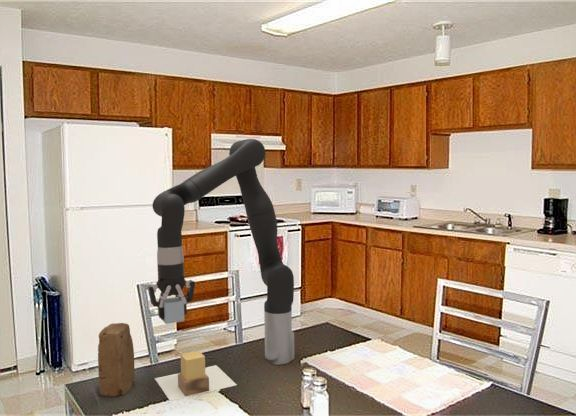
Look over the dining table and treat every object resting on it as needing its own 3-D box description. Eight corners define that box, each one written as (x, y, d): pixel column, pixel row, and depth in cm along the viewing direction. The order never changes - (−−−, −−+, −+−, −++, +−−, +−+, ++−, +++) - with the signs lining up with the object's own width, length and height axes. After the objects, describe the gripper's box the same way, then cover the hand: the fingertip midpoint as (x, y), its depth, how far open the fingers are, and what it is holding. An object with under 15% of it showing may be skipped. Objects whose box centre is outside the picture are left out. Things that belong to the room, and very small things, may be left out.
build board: (216, 368, 161) (216, 365, 161) (237, 388, 147) (237, 384, 146) (154, 382, 152) (154, 378, 152) (170, 405, 137) (170, 400, 137)
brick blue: (179, 316, 151) (178, 296, 151) (184, 320, 146) (183, 301, 146) (161, 319, 148) (160, 299, 148) (165, 324, 144) (165, 303, 143)
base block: (201, 381, 149) (200, 368, 149) (209, 390, 143) (208, 377, 142) (178, 386, 146) (177, 373, 145) (185, 396, 139) (185, 382, 139)
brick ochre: (199, 370, 148) (198, 350, 147) (205, 376, 143) (204, 356, 142) (181, 374, 145) (180, 354, 144) (186, 381, 140) (186, 360, 140)
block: (121, 401, 139) (119, 332, 138) (96, 400, 140) (93, 331, 139) (138, 384, 150) (136, 320, 148) (115, 383, 151) (112, 319, 149)
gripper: (190, 256, 152) (192, 310, 154) (142, 261, 146) (145, 318, 147) (198, 260, 146) (200, 317, 147) (148, 266, 139) (151, 325, 141)
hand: (172, 317), depth 147 cm, fingers closed on brick blue, 5 cm apart
